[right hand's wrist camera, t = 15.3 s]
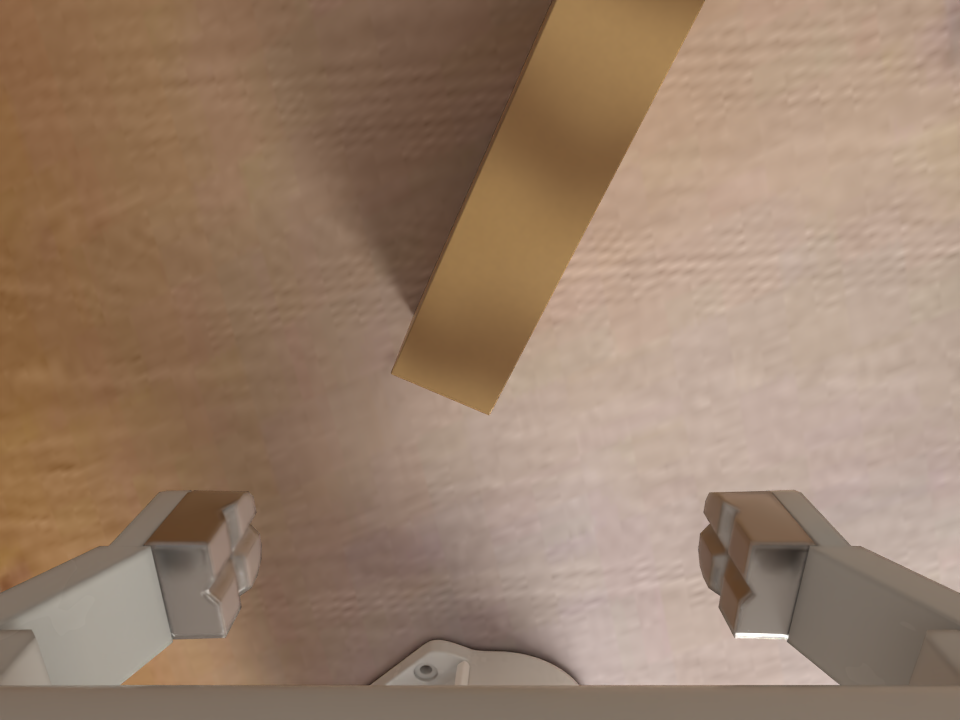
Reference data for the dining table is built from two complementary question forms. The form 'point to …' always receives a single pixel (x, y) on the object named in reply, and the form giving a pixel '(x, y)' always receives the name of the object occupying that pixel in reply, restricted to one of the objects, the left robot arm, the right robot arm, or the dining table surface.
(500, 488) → the dining table surface
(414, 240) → the dining table surface
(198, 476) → the dining table surface
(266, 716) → the right robot arm
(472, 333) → the bar
